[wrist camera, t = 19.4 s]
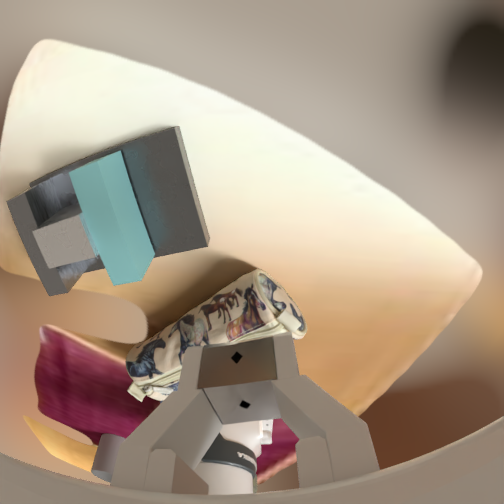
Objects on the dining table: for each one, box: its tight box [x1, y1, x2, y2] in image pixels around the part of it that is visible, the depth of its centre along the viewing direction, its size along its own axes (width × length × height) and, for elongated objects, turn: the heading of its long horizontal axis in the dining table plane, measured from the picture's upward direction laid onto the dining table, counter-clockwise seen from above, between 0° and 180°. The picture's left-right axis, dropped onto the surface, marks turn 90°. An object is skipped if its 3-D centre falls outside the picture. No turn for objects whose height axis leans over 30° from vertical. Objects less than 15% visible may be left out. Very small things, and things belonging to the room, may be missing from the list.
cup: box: [91, 434, 125, 483], centre depth 50 cm, size 8×8×10 cm
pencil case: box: [126, 269, 307, 403], centre depth 33 cm, size 22×8×10 cm, turn 126°
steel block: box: [32, 203, 99, 269], centre depth 26 cm, size 4×6×6 cm, turn 102°
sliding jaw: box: [69, 151, 155, 286], centre depth 26 cm, size 11×3×5 cm, turn 12°
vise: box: [7, 126, 210, 296], centre depth 27 cm, size 12×18×7 cm, turn 102°
